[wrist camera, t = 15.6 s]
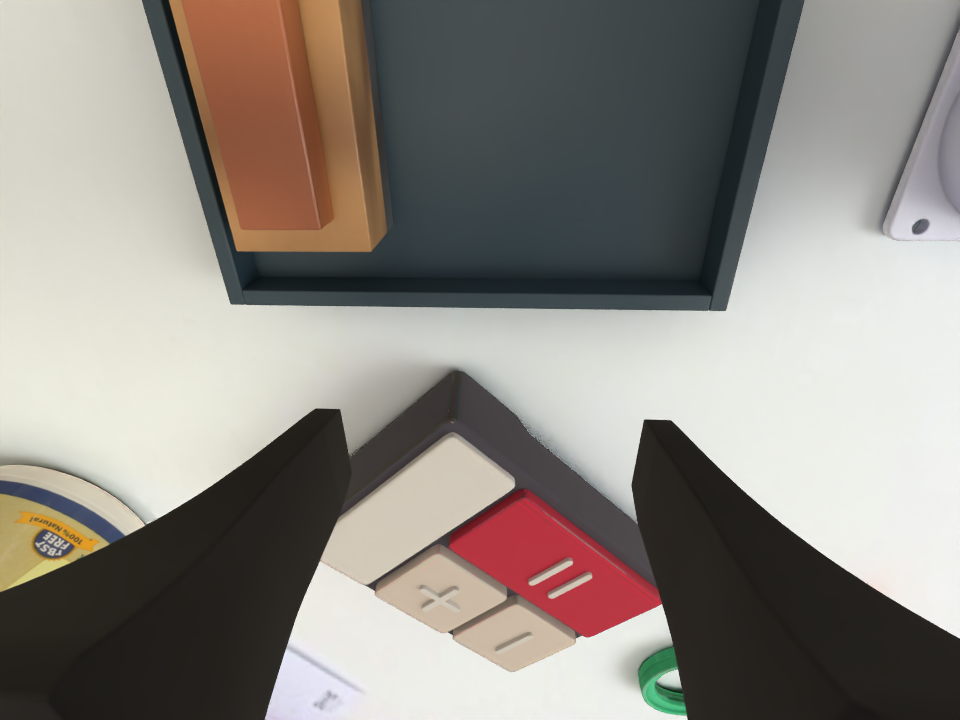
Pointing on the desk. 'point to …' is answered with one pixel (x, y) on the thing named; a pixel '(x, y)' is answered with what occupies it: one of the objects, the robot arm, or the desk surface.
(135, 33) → the desk surface
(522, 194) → the tray
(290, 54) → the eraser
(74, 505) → the supplement tub
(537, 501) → the calculator
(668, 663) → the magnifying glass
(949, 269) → the desk surface
